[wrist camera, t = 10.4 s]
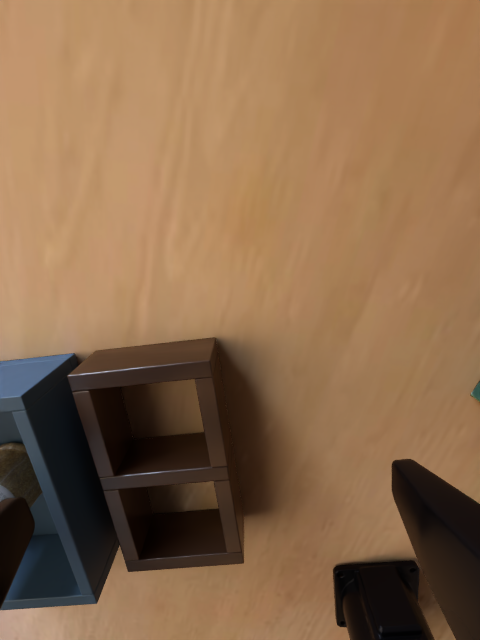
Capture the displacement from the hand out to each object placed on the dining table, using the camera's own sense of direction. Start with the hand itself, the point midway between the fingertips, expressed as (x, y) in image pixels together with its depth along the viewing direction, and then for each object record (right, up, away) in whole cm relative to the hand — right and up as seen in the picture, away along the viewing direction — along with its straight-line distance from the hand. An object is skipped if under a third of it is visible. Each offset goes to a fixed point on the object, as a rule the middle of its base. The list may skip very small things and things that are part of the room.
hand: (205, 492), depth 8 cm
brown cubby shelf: (-4, -4, +15) cm, 16 cm away
